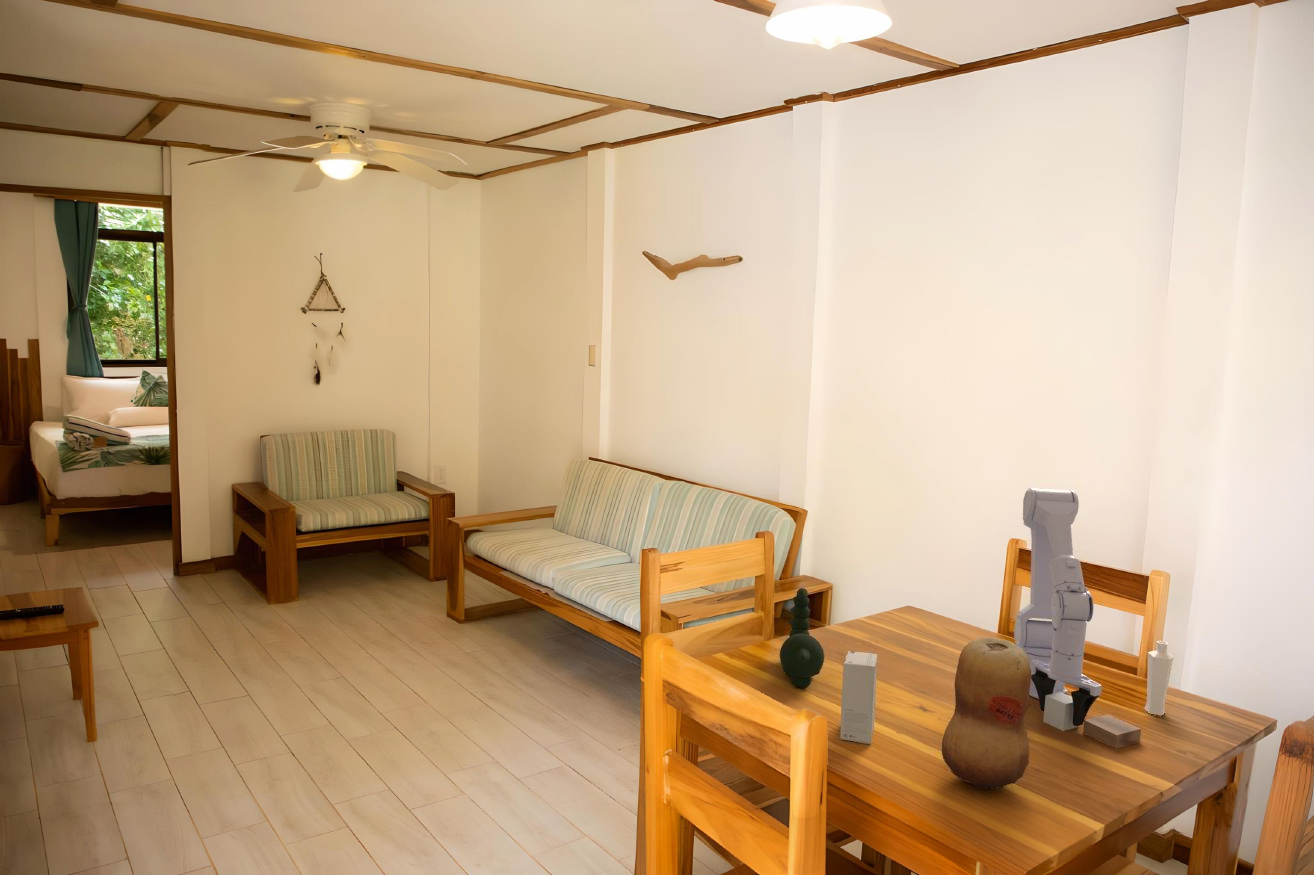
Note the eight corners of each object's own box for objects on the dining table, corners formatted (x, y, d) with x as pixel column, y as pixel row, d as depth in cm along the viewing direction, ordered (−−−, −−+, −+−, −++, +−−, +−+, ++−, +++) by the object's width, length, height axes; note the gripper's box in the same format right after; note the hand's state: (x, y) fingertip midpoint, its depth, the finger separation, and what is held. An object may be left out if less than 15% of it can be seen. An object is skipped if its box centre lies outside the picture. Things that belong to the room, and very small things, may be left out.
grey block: (1058, 718, 179) (1060, 691, 179) (1078, 727, 175) (1080, 700, 175) (1043, 721, 177) (1045, 695, 177) (1062, 730, 173) (1065, 704, 173)
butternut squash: (957, 804, 144) (970, 655, 141) (928, 764, 157) (939, 627, 154) (1041, 805, 144) (1055, 657, 141) (1005, 765, 158) (1017, 629, 155)
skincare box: (871, 745, 164) (876, 667, 162) (837, 739, 165) (842, 662, 164) (874, 727, 171) (879, 652, 170) (842, 721, 173) (847, 648, 172)
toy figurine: (777, 662, 208) (778, 695, 183) (781, 582, 208) (783, 604, 183) (817, 666, 207) (824, 699, 182) (822, 585, 207) (830, 607, 182)
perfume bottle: (1166, 710, 185) (1174, 640, 183) (1168, 718, 181) (1176, 647, 179) (1141, 705, 187) (1148, 637, 185) (1143, 713, 183) (1150, 643, 181)
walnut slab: (1106, 728, 176) (1107, 714, 175) (1139, 743, 170) (1141, 728, 169) (1082, 734, 173) (1084, 720, 172) (1115, 750, 166) (1117, 734, 166)
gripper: (1023, 641, 179) (1017, 706, 181) (1087, 666, 166) (1080, 735, 168) (1046, 637, 182) (1040, 700, 184) (1111, 661, 170) (1104, 729, 171)
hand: (1061, 717), depth 176 cm, fingers open, 7 cm apart
